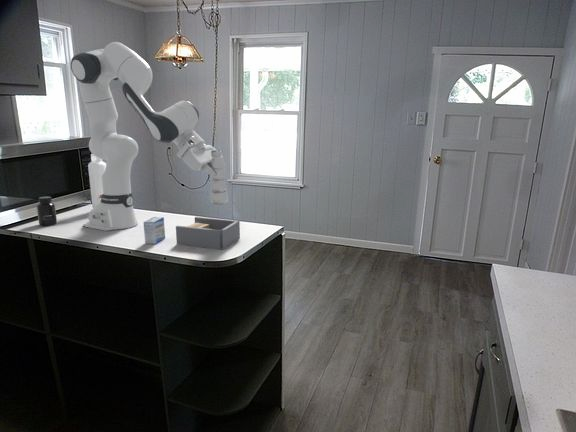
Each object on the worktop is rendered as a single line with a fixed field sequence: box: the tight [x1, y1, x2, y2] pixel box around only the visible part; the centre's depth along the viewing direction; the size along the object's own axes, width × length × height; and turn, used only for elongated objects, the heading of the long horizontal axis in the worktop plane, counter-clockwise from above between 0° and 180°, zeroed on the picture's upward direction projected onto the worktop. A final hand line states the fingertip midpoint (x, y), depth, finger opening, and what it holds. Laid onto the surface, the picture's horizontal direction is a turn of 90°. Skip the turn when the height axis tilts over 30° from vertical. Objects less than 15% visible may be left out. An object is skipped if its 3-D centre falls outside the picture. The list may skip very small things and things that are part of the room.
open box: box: [175, 216, 241, 250], centre depth 156 cm, size 19×15×7 cm
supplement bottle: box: [36, 195, 58, 227], centre depth 175 cm, size 7×7×12 cm
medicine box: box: [143, 216, 166, 245], centre depth 156 cm, size 8×4×9 cm, turn 170°
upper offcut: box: [186, 222, 209, 229], centre depth 157 cm, size 6×9×3 cm, turn 155°
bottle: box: [87, 153, 107, 209], centre depth 197 cm, size 8×8×28 cm
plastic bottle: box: [208, 149, 229, 206], centre depth 151 cm, size 6×7×20 cm
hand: (219, 173), depth 150 cm, fingers closed on plastic bottle, 6 cm apart
